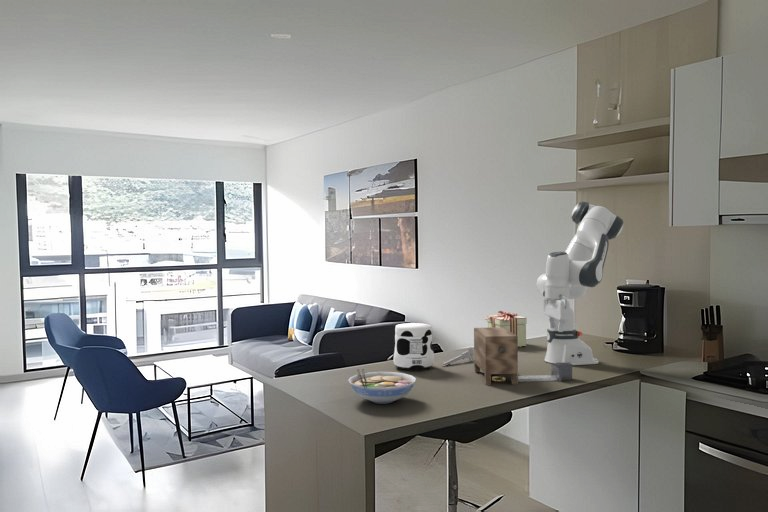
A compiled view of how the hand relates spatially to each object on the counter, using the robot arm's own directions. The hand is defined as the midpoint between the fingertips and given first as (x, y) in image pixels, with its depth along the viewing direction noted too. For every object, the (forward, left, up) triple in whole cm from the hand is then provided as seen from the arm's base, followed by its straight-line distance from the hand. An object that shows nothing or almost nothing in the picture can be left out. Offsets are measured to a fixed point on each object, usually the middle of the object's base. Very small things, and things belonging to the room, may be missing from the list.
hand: (556, 329), depth 224 cm
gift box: (+2, -71, -19) cm, 74 cm away
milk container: (+53, -23, -19) cm, 61 cm away
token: (+23, +1, -19) cm, 30 cm away
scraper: (+6, +1, -19) cm, 20 cm away
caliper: (+33, -31, -19) cm, 50 cm away
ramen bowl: (+68, +27, -19) cm, 76 cm away
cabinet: (+23, -3, -19) cm, 30 cm away
